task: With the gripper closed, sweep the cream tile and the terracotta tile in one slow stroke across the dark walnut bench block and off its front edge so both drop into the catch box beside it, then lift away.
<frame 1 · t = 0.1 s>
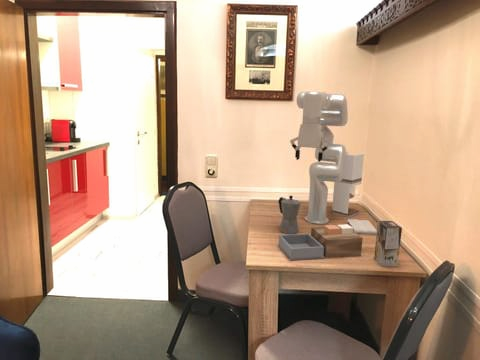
hand: (308, 160, 170), 37 cm above the table, tool pointing down, fingers open, 9 cm apart
washcloth: (361, 229, 197), on the table
coffee box: (385, 262, 156), on the table
bench block: (334, 249, 167), on the table
coffeepot: (287, 230, 191), on the table
tile front: (331, 232, 165), point 8 cm above the table, touching bench block
tile back: (344, 231, 167), point 8 cm above the table, touching bench block
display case: (345, 214, 222), on the table
catch box: (299, 251, 164), on the table
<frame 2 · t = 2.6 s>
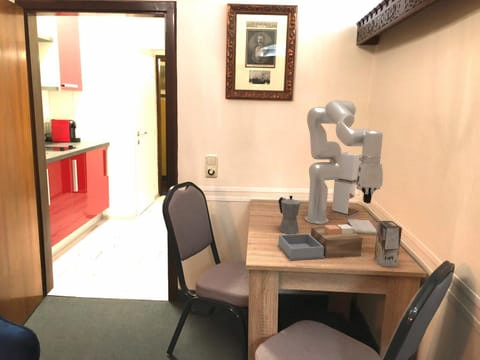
hand: (366, 202, 166), 21 cm above the table, tool pointing down, fingers closed
nothing on the table moved.
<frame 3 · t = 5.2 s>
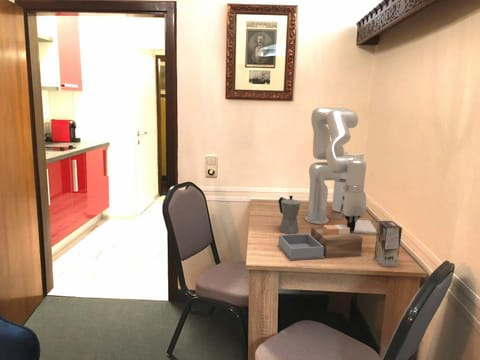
hand: (350, 229, 167), 9 cm above the table, tool pointing down, fingers closed
tile front: (330, 232, 165), point 8 cm above the table, touching tile back
tile back: (341, 232, 166), point 8 cm above the table, touching gripper, tile front
everything else where it was.
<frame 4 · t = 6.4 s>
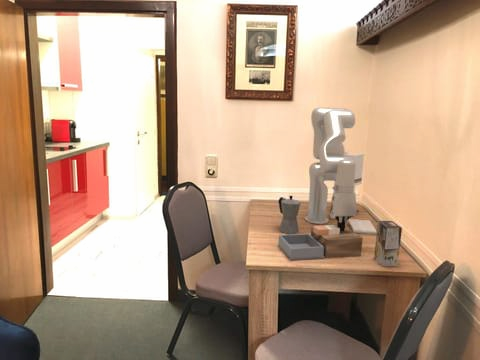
hand: (340, 230, 166), 9 cm above the table, tool pointing down, fingers closed
tile front: (320, 233, 164), point 8 cm above the table, touching bench block, tile back
tile back: (331, 232, 165), point 8 cm above the table, touching bench block, gripper, tile front
everything else where it was.
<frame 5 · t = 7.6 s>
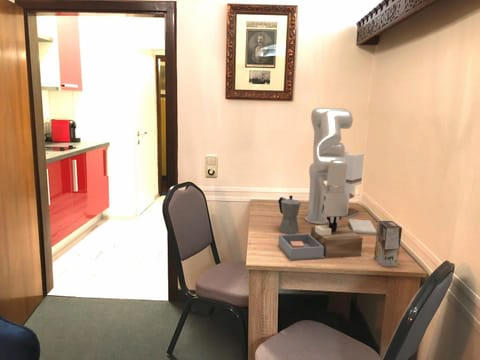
hand: (332, 230, 165), 9 cm above the table, tool pointing down, fingers closed
tile front: (297, 243, 164), point 3 cm above the table, tilted 180°, touching catch box
tile back: (322, 233, 164), point 8 cm above the table, touching gripper
everything else where it was.
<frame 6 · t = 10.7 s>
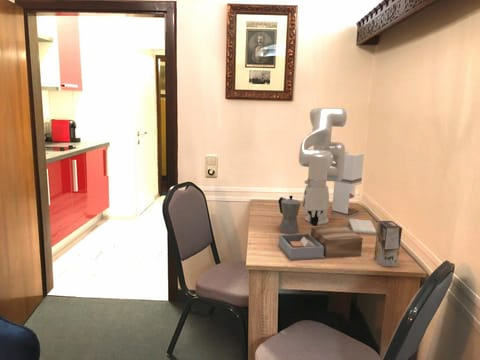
hand: (313, 225, 163), 12 cm above the table, tool pointing down, fingers closed
tile front: (297, 243, 164), point 3 cm above the table, tilted 180°, touching catch box, tile back
tile back: (310, 241, 163), point 5 cm above the table, tilted 147°, touching catch box, tile front
everything else where it was.
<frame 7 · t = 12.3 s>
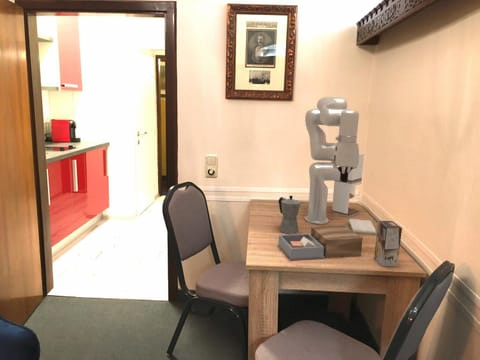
hand: (343, 181, 168), 29 cm above the table, tool pointing down, fingers closed
nothing on the table moved.
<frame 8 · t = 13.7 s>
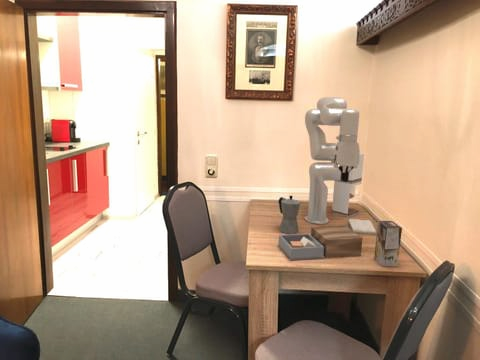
hand: (344, 181, 168), 29 cm above the table, tool pointing down, fingers closed
nothing on the table moved.
at the end: tile front inside the target area (1.6 cm from its centre), point 3.3 cm above the table; tile back inside the target area (4.4 cm from its centre), point 4.5 cm above the table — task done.
